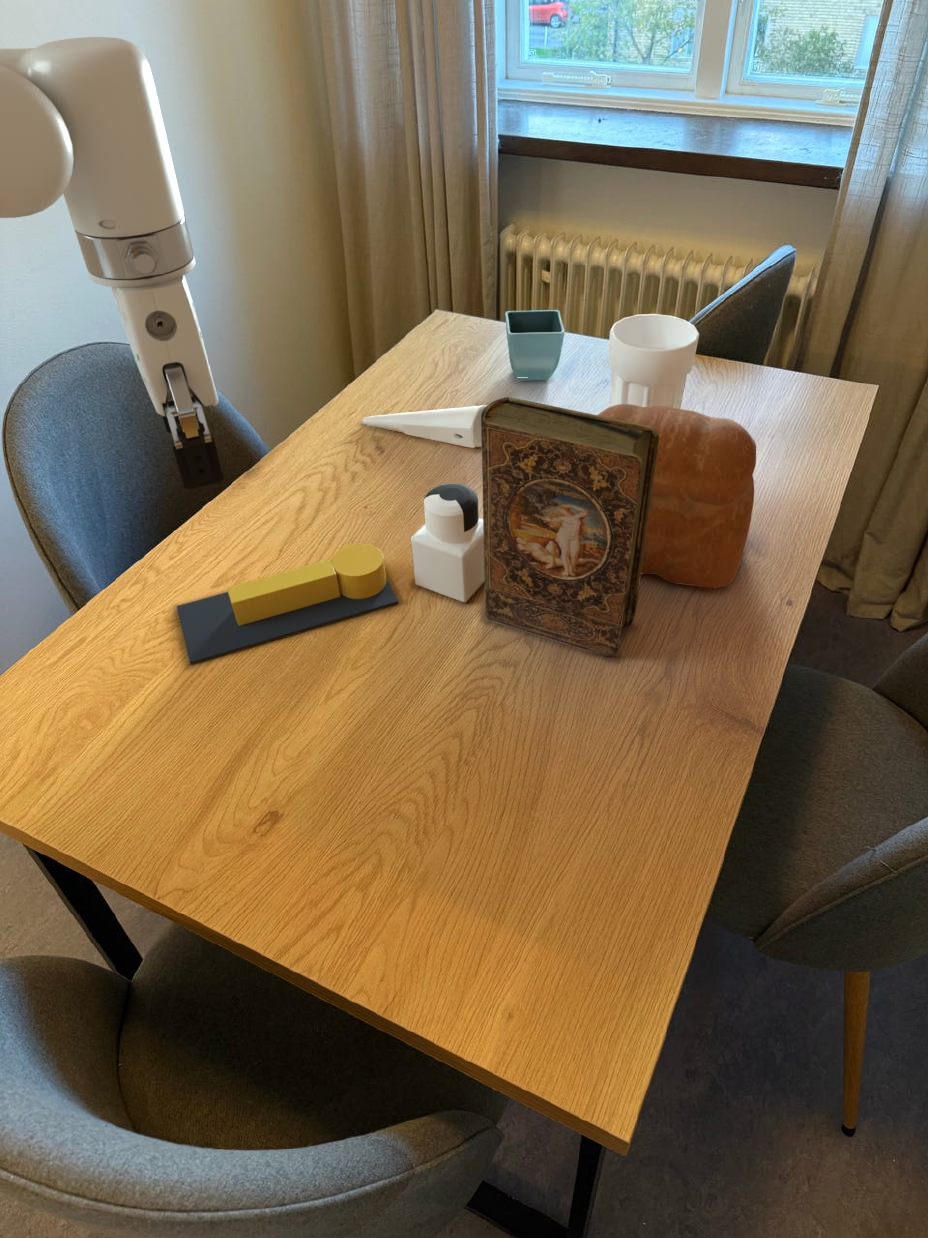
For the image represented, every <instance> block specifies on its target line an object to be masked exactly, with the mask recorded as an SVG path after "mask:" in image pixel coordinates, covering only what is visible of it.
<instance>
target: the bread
mask: <svg viewBox="0 0 928 1238" xmlns="http://www.w3.org/2000/svg"><path fill="white" fill-rule="evenodd" d="M597 415H598V416H603V417H608V418H613V419H617V420H622V421H627V422H632V423H637V424H642V425H647V426H652V427H655V428H656V429H657V430H658V432H659V445H658V453H657V460H656V468H655V475H654V482H653V489H652V497H651V504H650V511H649V519H648V526H647V533H646V541H645V548H644V555H643V563H642V570H641V575H657V576H658V577H660V578H662V579H664V580H665V581H667V582H669V583H670V584H671V583H672V584H679V585H686V586H693V587H701V588H709V589H716V588H721V587H725V586H729V585H730V584H731V583H732V582H733V581H734V579H735V577H736V574H737V572H738V569H739V567H740V564H741V561H742V559H743V555H744V552H745V547H746V543H747V539H748V535H749V530H750V527H751V522H752V516H753V510H754V509H753V508H754V502H755V501H754V500H755V480H754V472H755V469H756V466H757V444H756V441H755V440H754V438H753V436H752V435H751V433H750V432H748V430H747V429H746V428H745V427H743V426H742V424H740V423H738V422H736V421H735V420H733V419H730V418H723V417H714V416H709V415H706V414H704V413H700V412H697V411H695V410H689V409H683V408H680V409H677V408H671V407H656V406H654V407H640V406H635V405H630V404H620V405H615V406H612V407H610V406H608V407H607V408H605V409H604V410H602V411H600V412H599V413H598V414H597Z"/></svg>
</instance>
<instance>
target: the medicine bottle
mask: <svg viewBox="0 0 928 1238" xmlns="http://www.w3.org/2000/svg"><path fill="white" fill-rule="evenodd" d="M423 510H424V522H425V523H424V524H423V525H422V526H421V527H420V528H419V529H418V530H417V531H416V532H415V533H414V534H413V535H412V536H411V538H410V545H411V556H412V565H413V576H414V583H415V585H416V586H418V587H421V588H424V589H427V590H428V591H432V592H435V593H437V594H440V595H442V596H444V597H447V598H450V599H453V600H456V601H458V602H462V603H466V602H468V601H469V600H470V598H472V596H473V595H474V594H475V593H476V592H477V591H478V590H479V588H480V587H481V586H482V585H483V583H485V575H484V530H483V518H480V515H479V514H480V513H479V512H480V511H479V496H478V494H477V493H476V491H474V489H472V488H471V487H469V486H467V485H465V484H461V483H454V482H453V483H452V482H451V483H443V484H439V485H437V486H435V487H433V488H432V489H430V490H429V491H428V492H427V493H426V494H425V496H424V497H423Z"/></svg>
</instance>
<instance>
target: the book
mask: <svg viewBox="0 0 928 1238" xmlns="http://www.w3.org/2000/svg"><path fill="white" fill-rule="evenodd" d="M486 406H487V407H485V409H484V410H483V411H482V414H481V438H482V446H481V476H482V477H481V479H482V480H481V481H482V483H481V484H482V519H483V530H484V575H485V581H484V610H485V611H484V612H485V613H484V614H485V617H486V619H487V621H489V622H492V623H496V624H499V625H501V626H505V627H508V628H512V629H515V630H517V631H521V632H525V633H528V634H531V635H534V636H537V637H540V638H544V639H547V640H551V641H553V642H557V643H560V644H564V645H566V646H568V647H569V646H570V647H573V648H577V649H579V650H582V651H586V652H589V653H592V654H593V653H594V654H597V655H600V656H604V657H607V658H615V657H616V656H617V654H618V653H619V650H620V647H621V642H622V635H623V630H624V629H626V628H629V627H631V626H632V624H633V623H634V620H635V617H636V612H637V605H638V598H639V592H640V591H639V590H640V583H641V576H642V574H641V570H642V563H643V555H644V548H645V541H646V533H647V526H648V519H649V511H650V504H651V497H652V489H653V482H654V475H655V468H656V460H657V453H658V445H659V432H658V430H657V429H656V428H655V427H652V426H647V425H642V424H637V423H632V422H627V421H622V420H617V419H613V418H608V417H603V416H598V414H592V413H588V412H583V411H578V410H573V409H568V408H563V407H560V406H554V405H549V404H544V403H540V402H535V401H530V400H525V399H520V398H515V397H510V396H507V397H501V398H498V399H495V400H493V401H492V402H490V403H489V404H487V405H486Z"/></svg>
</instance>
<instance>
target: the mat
mask: <svg viewBox="0 0 928 1238" xmlns="http://www.w3.org/2000/svg"><path fill="white" fill-rule="evenodd" d="M331 564H332V562H331ZM398 604H399V599H398V598H397V596H396V594H395V592H394V590H393V587H392V586H391V584H390V582H389V581H388V579H387V578H386V585H385V587H384V588H383V589H382V590H381V591H380V592H379V593H378V594H376V595H374V596H372V597H369V598H364V599H352V598H348V597H345V596H343V595H342V594H341V593H340V597H338V598H334V599H331V600H327V601H324V602H320V603H317V604H314V605H310V606H307V607H303V608H300V609H296V610H293V611H289V612H286V613H282V614H279V615H275V616H272V617H268V618H265V619H261V620H258V621H254V622H251V623H247V624H244V625H240V626H238V623H237V620H236V616H235V613H234V610H233V607H232V603H231V600H230V597H229V593H228V591H226V592H223V593H219V594H216V595H212V596H208V597H205V598H201V599H198V600H197V599H196V600H194V601H190V602H187V603H182V604H180V605H176V610H177V615H178V618H179V623H180V626H181V631H182V635H183V640H184V644H185V647H186V652H187V657H188V662H189V664H190V665H194V664H197V663H200V662H204V661H207V660H211V659H214V658H217V657H222V656H225V655H228V654H231V653H235V652H238V651H241V650H242V651H243V650H245V649H249V648H252V647H256V646H258V645H262V644H265V643H270V642H272V641H275V640H279V639H283V638H286V637H289V636H293V635H296V634H300V633H303V632H306V631H309V630H313V629H317V628H320V627H323V626H327V625H329V624H334V623H337V622H341V621H344V620H348V619H350V618H355V617H357V616H360V615H364V614H367V613H371V612H374V611H377V610H380V609H384V608H389V607H392V606H394V605H395V606H396V605H398Z"/></svg>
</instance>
